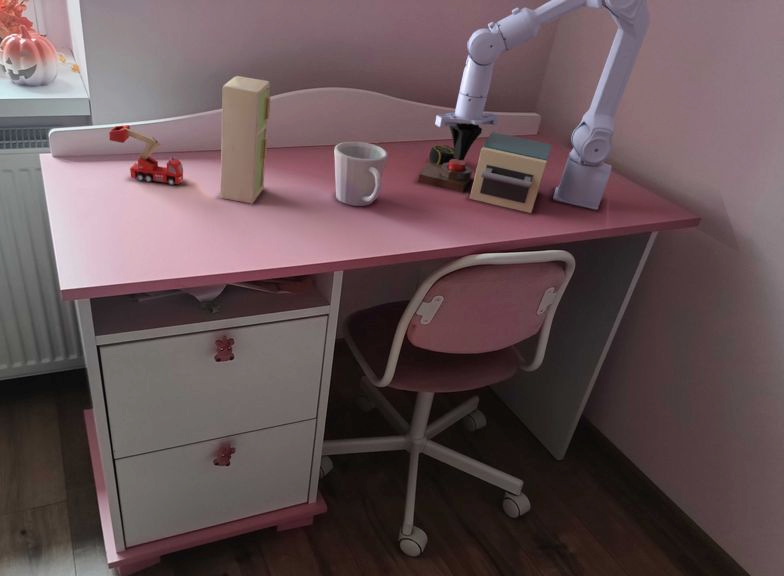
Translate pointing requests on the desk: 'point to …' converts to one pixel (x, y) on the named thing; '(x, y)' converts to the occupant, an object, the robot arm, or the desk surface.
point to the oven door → (507, 179)
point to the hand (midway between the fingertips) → (458, 158)
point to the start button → (457, 165)
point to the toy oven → (518, 146)
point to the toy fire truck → (148, 159)
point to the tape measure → (441, 154)
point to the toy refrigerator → (244, 138)
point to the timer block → (445, 177)
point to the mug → (358, 172)
